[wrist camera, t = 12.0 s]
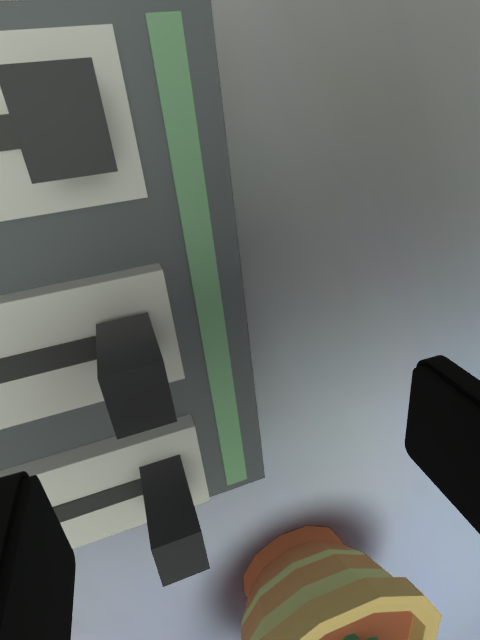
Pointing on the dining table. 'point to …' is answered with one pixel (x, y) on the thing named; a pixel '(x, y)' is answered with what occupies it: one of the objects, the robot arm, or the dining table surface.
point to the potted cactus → (329, 594)
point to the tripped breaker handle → (133, 376)
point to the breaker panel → (120, 266)
